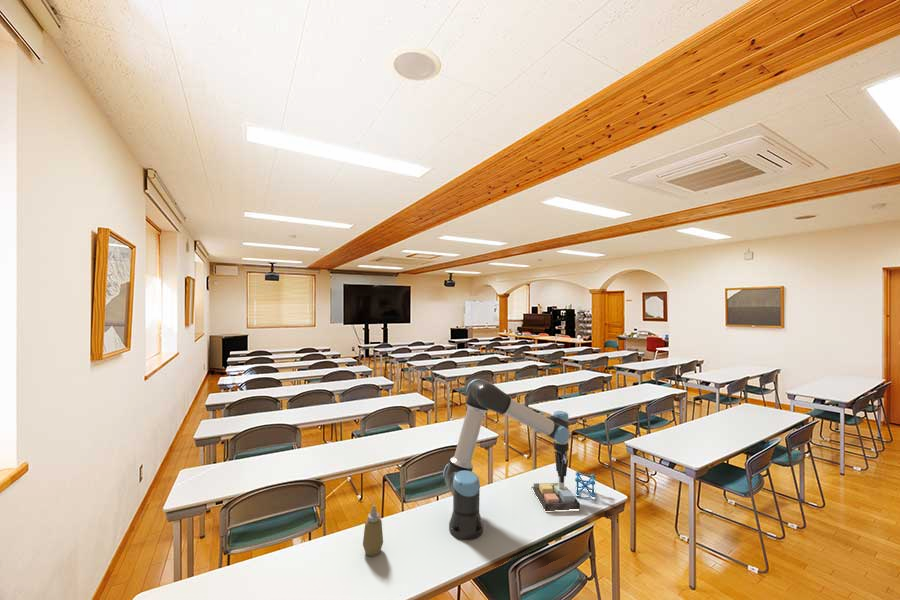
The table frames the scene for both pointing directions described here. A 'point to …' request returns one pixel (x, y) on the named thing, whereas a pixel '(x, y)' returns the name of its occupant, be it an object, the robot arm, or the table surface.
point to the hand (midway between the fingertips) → (561, 487)
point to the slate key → (567, 496)
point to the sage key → (559, 489)
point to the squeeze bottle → (373, 534)
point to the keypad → (554, 506)
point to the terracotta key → (551, 498)
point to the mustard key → (546, 488)
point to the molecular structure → (585, 485)
